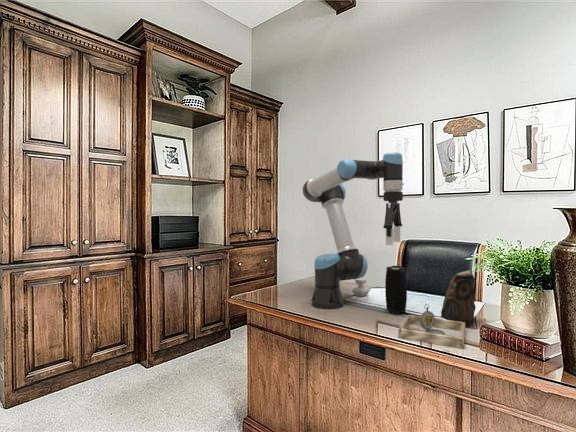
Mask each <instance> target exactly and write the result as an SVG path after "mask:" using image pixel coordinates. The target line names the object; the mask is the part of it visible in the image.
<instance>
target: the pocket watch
mask: <svg viewBox="0 0 576 432" xmlns="http://www.w3.org/2000/svg"><path fill="white" fill-rule="evenodd" d="M423 308H424V309H425V311H423V312H422V313H421V315H420V325H419V326H420V327H421V328H422V329H423V330H424V332H426V333H433V334H439V335H445V336H446V332H445V331H443V330H440V329H436V328H433V327H432V326H433V325H434V321H435V315H434V313H433V312H432V311H430V310H429V309H430V305H429V304H427V303H425V305H424V306H423ZM429 318H430V319H429ZM429 320H430V321H429ZM427 321H428V322H427ZM425 323H427V325H425Z"/></svg>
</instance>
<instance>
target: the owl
mask: <svg viewBox="0 0 576 432" xmlns="http://www.w3.org/2000/svg"><path fill="white" fill-rule="evenodd" d="M475 281H476V278H475V277H474V274H473V270H472V269H469V270H465V271H461V272H457V273H456V274H455V275H454V276H453V277H452V278H451V280H450V282H449V285H448V288H447V289H446V290H447V291H446V293H445V296H444V300H443V302H442V307H441V310H440V317H441V318H442V317H443V318H442V319H444V320H445V319H446V320H451V321H458V322H465V327H469V326H470V325H473V323H475V321H474V320H475V311H476V307H477V306H476V304H475V301H476V290H475Z"/></svg>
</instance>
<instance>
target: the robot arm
mask: <svg viewBox="0 0 576 432" xmlns="http://www.w3.org/2000/svg"><path fill="white" fill-rule="evenodd" d="M403 160H404V159H403V154H402V153H400V152H386V153H384V154H383V156H382V160H381V159H380V160H360V159H359V160H358V159H349V158H348V159H342V160H341V159H340V161H339V162H338V163H337V165H336V166H337V167H335V168H333V169H331V170H329V171H327V172H326V173H324V174H322V175H320V176H318V177H313V178H310V179H308V180H307V181H306V182H304V184H303V186H302V194H303V196H304V197H305V199H306V200H307V201H308V202H309V201H310V202H312V203H320V204H321V208H322V209H324V210H326V211H325V212H326V214H327V219H328V222H329V224H330V229H331V232H332V237H333V239H334V240H333V241H334V243H335V247H336V251H337V252H336V253H323V254H320V255H318V256H317V257H315V259H314V266H313V267H314V289H313V290H314V291H313V292H312V296H311V305H312V306H313V307H314V308H317V309H324V310H325V309H330V310H331V309H339V308H342V307H344V296H343V294H342V291H341V289H340V287H341V286H340V282H341V281H342V282H343V281H349V280H357V279H363V277H364V276H365V275H366V274H367V270H368V266H369V264H368V260H367V257H366V256H365V255H364V254H362V253H360V251H359V249H358V248H357V247H355V245H354V242H353V237H352V235H351V234H352V233H351V231H350V229H349V224H348V221H347V218H346V215H345V214H346V213H345V212H344V208H343V203H344V201H345V198H346V193H347V192H346V187H345V186H344V183H346V182H348V181H351V180H353V179H366V180H377V179H378V180H379V179H383V180H382V181H383V187H382V189H383V194H382V195H383V201H384V202H386V203H385V216H384V224H383V229H385V245H386V246H394V242H395V243H401V227H403V223H402V218H401V208H400V205H401V204H400V203H399V202H401V201H403V200H404V192H403V191H402V190H403V186H404V185H405V182H403V181H404V180H403V179H404V178H403V176H404V175H403V174H404V173H403V171H404V170H403V166H404V165H403V164H404V162H403Z"/></svg>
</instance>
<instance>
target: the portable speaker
mask: <svg viewBox="0 0 576 432" xmlns="http://www.w3.org/2000/svg"><path fill="white" fill-rule="evenodd" d="M385 270H386V272H385V285H384V289H385V306H386V309H387V311H388V313H389V314H392V315H399V314H400V313H404V314H405V313H406V310H407V303H408V302H407V299H408V296H407V295H408V285H407V284H408V281H407V272H406V267H403V266H401V265H391V266H386V269H385Z"/></svg>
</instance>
